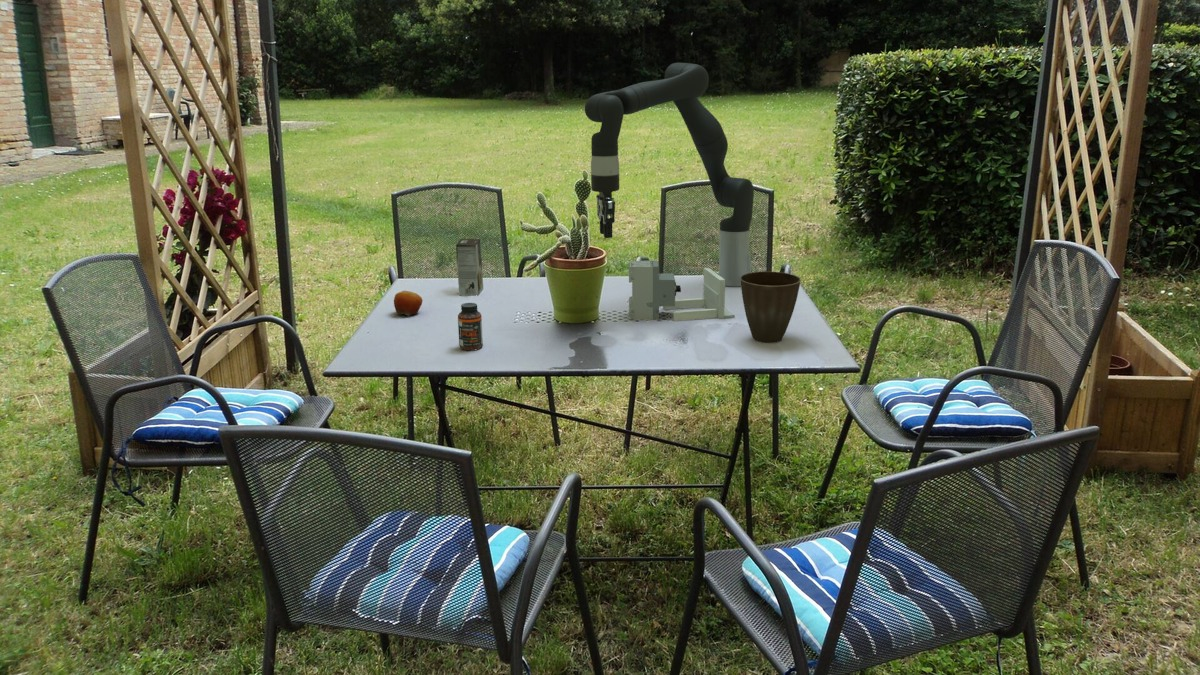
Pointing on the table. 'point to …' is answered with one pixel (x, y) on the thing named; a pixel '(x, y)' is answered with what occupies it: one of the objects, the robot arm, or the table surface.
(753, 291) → the plant pot
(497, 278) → the table surface
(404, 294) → the fruit
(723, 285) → the rail bracket
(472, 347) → the supplement bottle
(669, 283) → the circuit breaker
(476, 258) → the coffee box
